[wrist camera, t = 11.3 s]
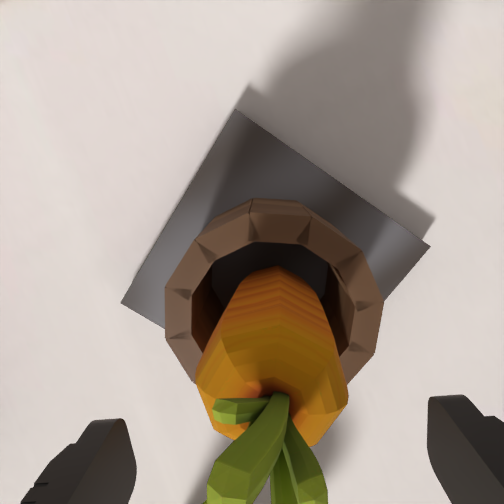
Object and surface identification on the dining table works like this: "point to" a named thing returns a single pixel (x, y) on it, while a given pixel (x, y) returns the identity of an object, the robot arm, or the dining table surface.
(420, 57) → the dining table surface
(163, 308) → the holder
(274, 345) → the carrot
